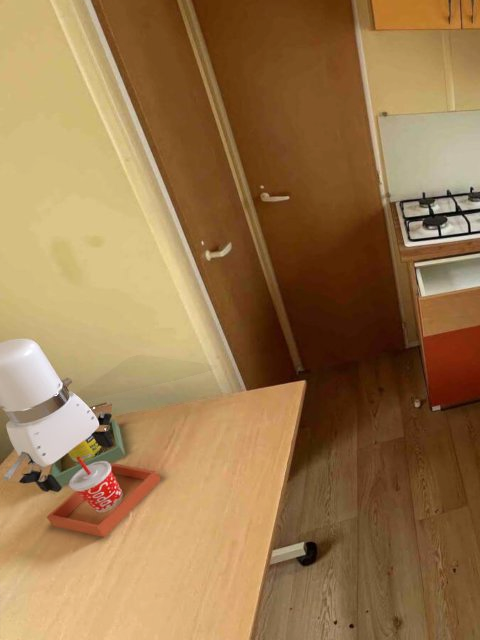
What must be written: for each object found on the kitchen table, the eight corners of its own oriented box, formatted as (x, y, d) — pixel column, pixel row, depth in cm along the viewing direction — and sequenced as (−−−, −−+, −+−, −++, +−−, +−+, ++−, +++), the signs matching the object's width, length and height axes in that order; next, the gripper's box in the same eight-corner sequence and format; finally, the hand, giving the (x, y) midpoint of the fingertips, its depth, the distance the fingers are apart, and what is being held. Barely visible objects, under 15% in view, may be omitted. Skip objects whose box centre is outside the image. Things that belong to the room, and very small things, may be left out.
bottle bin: (58, 456, 98) (50, 446, 97) (120, 429, 105) (114, 418, 104) (60, 489, 91) (51, 478, 90) (126, 457, 98) (119, 446, 97)
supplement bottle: (102, 460, 97) (82, 430, 92) (71, 469, 95) (49, 439, 90) (109, 442, 101) (90, 413, 97) (80, 450, 99) (59, 421, 95)
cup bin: (55, 527, 84) (46, 517, 82) (115, 472, 95) (108, 462, 93) (106, 539, 82) (97, 528, 81) (162, 481, 93) (155, 471, 91)
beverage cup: (86, 522, 84) (51, 477, 78) (94, 496, 89) (61, 452, 83) (125, 507, 87) (94, 463, 81) (130, 483, 92) (102, 439, 85)
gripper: (74, 367, 83) (110, 428, 91) (-43, 439, 68) (12, 505, 76) (105, 372, 82) (139, 433, 90) (-6, 447, 67) (47, 513, 75)
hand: (81, 466), depth 83 cm, fingers open, 9 cm apart
